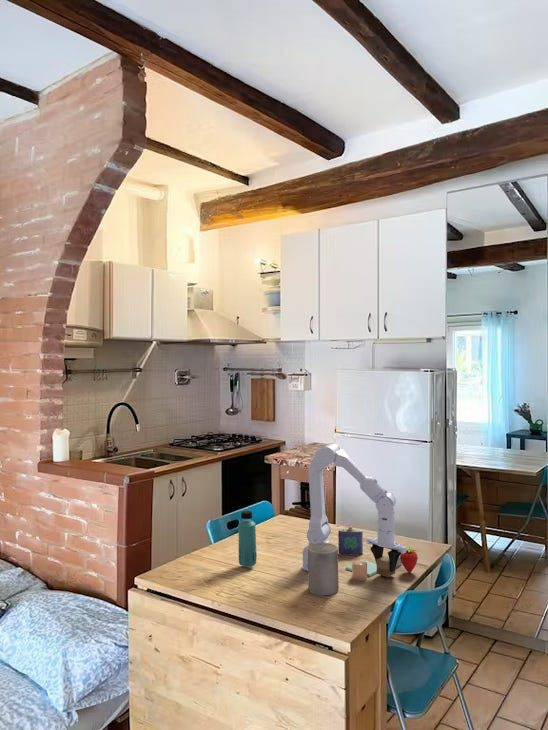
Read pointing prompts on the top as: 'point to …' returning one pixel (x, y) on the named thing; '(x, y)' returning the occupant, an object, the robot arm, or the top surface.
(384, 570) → the walnut block
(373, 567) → the coaster
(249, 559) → the beverage bottle
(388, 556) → the grey square block
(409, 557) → the strawberry
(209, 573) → the top surface
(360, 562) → the peach domed cylinder
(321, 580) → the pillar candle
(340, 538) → the flask
